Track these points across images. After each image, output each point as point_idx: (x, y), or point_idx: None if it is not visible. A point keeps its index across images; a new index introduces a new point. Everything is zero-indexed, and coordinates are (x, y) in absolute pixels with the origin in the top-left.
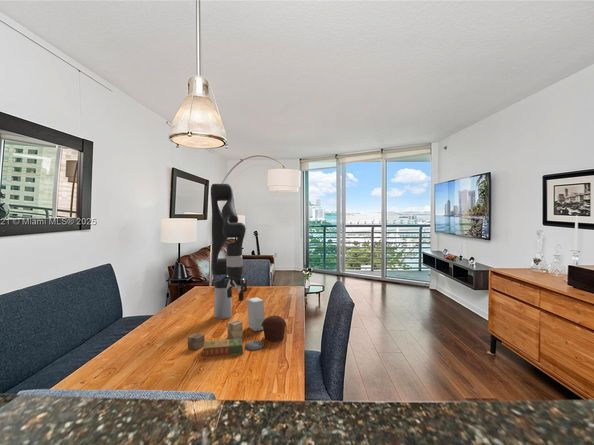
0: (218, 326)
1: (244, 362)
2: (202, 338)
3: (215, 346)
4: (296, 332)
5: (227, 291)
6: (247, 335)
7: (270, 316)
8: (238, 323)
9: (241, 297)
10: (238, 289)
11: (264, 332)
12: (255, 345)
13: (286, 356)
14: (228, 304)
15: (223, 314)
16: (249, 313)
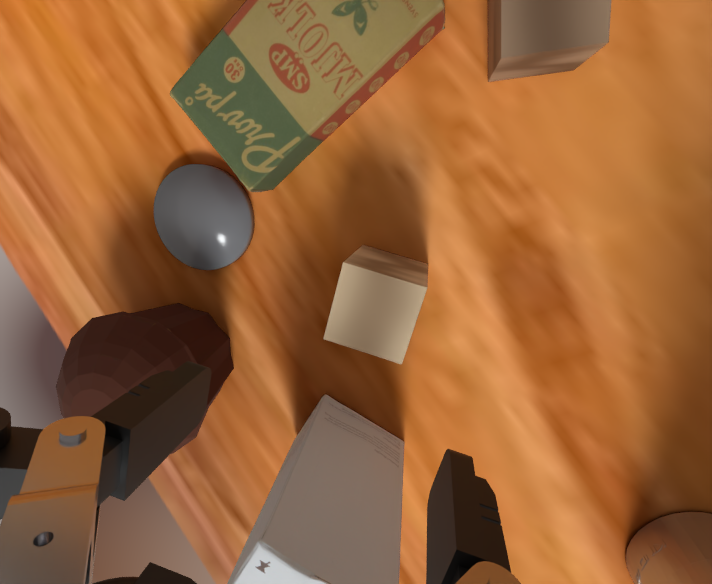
0: (610, 397)
1: (123, 15)
2: (496, 35)
3: None
4: None
5: (474, 533)
6: None
7: None
8: (333, 306)
9: (135, 392)
10: (57, 474)
11: (183, 321)
12: (187, 209)
13: (15, 183)
14: None
15: (677, 546)
16: (369, 492)
